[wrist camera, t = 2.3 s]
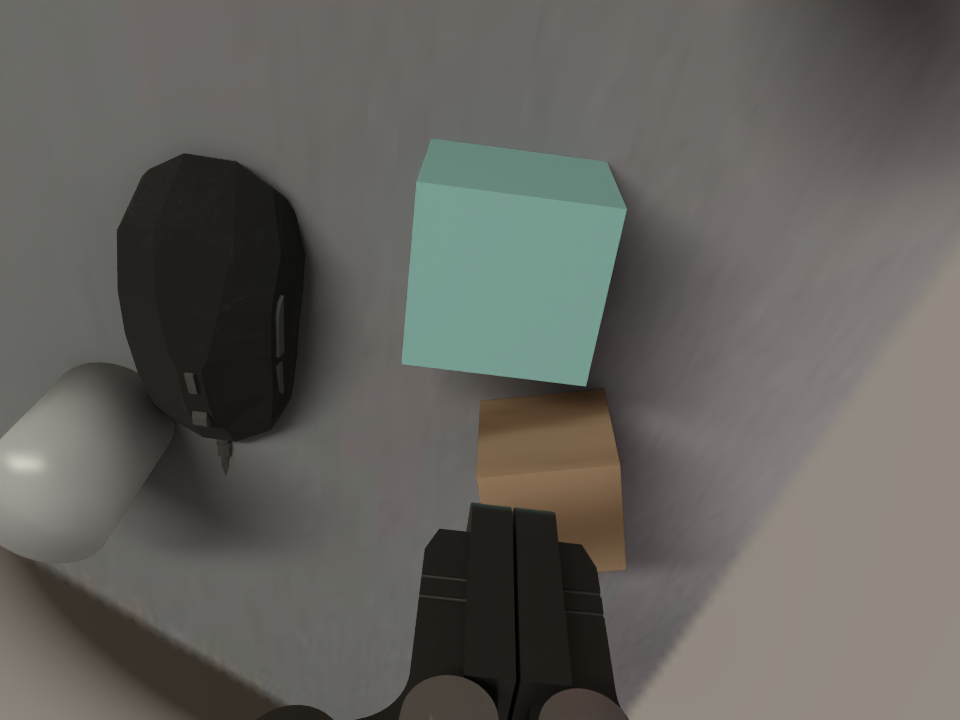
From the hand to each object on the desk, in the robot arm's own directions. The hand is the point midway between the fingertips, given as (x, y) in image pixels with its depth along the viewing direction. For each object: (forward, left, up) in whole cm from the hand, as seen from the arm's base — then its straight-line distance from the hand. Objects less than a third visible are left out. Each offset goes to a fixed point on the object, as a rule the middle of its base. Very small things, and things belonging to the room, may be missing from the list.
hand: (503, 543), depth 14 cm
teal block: (0, 0, -16) cm, 16 cm away
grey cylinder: (+10, -15, -16) cm, 24 cm away
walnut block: (+9, +3, -16) cm, 18 cm away
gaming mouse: (+6, -10, -16) cm, 20 cm away
